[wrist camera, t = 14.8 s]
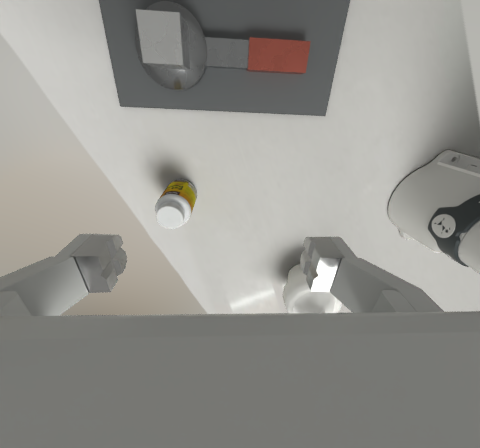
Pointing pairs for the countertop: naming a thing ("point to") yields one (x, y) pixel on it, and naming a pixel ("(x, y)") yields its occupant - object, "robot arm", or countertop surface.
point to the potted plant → (306, 296)
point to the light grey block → (163, 39)
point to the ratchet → (225, 53)
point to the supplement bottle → (176, 204)
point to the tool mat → (235, 80)
